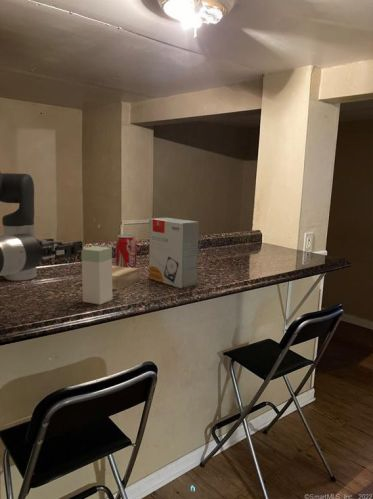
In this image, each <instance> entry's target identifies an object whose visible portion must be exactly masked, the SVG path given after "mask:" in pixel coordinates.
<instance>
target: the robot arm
mask: <svg viewBox="0 0 373 499" xmlns="http://www.w3.org/2000/svg"><path fill="white" fill-rule="evenodd" d="M0 202H1V203H5V204H18V208H17V209H16V210H15V211H13V212H12V213H9V214H5V215H4V216H3V217H2V218H1V222H2V234H3V235H0V276H1V277H2V276H3V278H5V279H6V280H9V281H27V280H32V279H35V278H37V267H38V266H39V263H40V262H41V260H48V259H50V258H54V259H56V260H60V259H64V258H69V257H74V256H75V257H76V256H78V255H79V254H78V252H81V251H82V250H83V249H84V246H83V245H84V244H83V242H84V241H81V240H78V241H77V240H76V241H69V242H62V241H61V240H55V239H54V238H47V239H46V238H45V239H39V238H36V237H35V184H34V180H33V177H32V175H30V174H27V173H15V172H14V173H6V172H5V173H1V171H0Z"/></svg>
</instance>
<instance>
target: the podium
mask: <svg viewBox="0 0 373 499" xmlns="http://www.w3.org/2000/svg"><path fill="white" fill-rule="evenodd" d="M138 282H140V268H129V267H120V266H116V265H112V290H116V291H118V290H121V289H123V288H127V287H128V286H131V285H133V284H135V283H138Z"/></svg>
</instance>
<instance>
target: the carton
mask: <svg viewBox="0 0 373 499" xmlns="http://www.w3.org/2000/svg"><path fill="white" fill-rule="evenodd" d="M112 251H113V250H112V247H107V246H105V247H103V246H94V245H93V246H89V247H85V248H83V250H82V251H80V252H81V278H82V281H81V282H82V284H81V286H82V302H84V303H90V304H95V305H102V304H105V303H107V302H109V301H111V300H113V297H114V296H113V289H112V266H113V252H112Z"/></svg>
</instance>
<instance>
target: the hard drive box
mask: <svg viewBox="0 0 373 499" xmlns="http://www.w3.org/2000/svg"><path fill="white" fill-rule="evenodd" d="M148 220H149V221H148V224H149V225H148V226H149V227H148V228H149V232H148V233H149V234H148V235H149V238H148V241H149V242H148V247H149V248H148V254H149V255H148V258H149V259H148V261H149V262H148V273H149V274H148V276H149V277H148V279H149V280H153V281H155V282H160V283H162V284H166V285H169V286H171V285H172V286H171V287H175V288H177V289H178V288H179V289H183V287H184V288H188V287H192V286H196V285H198V271H199V270H198V269H199V267H198V265H199V235H200V234H199V233H200V232H199V230H200V222H199V221H195V220H188V219H180V218H172V217H155V218H153V217H152V218H149V219H148Z"/></svg>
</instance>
